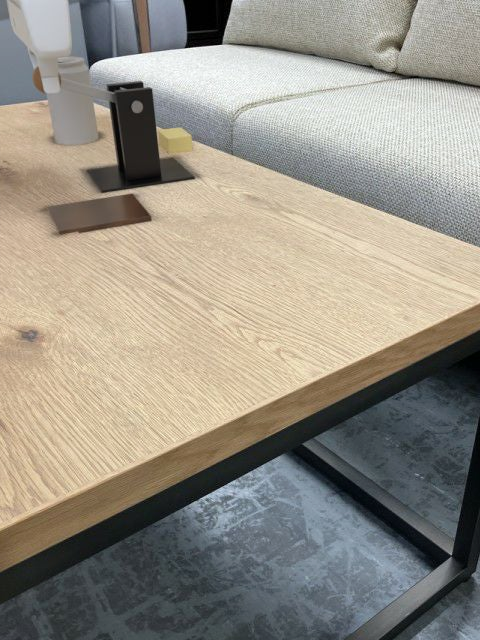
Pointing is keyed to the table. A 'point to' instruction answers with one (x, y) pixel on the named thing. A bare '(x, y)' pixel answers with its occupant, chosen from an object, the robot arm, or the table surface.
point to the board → (98, 214)
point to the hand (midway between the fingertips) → (48, 88)
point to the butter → (175, 140)
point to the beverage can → (73, 106)
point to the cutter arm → (75, 87)
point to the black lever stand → (135, 144)
